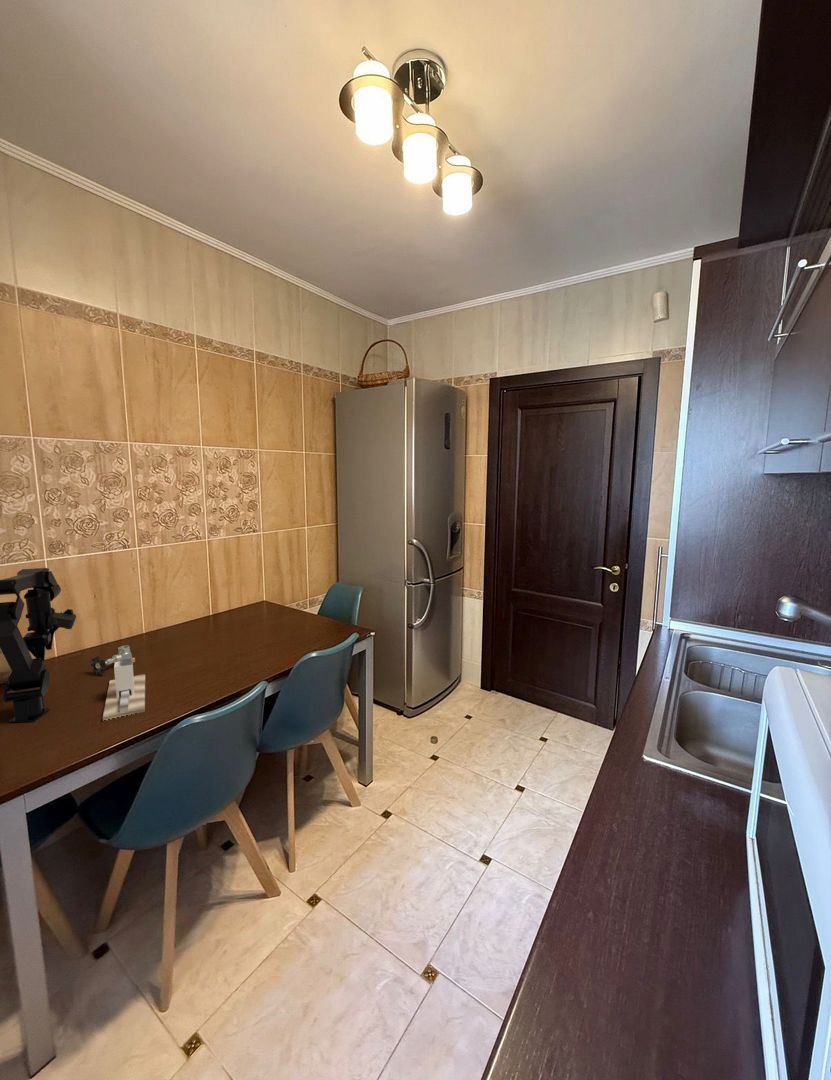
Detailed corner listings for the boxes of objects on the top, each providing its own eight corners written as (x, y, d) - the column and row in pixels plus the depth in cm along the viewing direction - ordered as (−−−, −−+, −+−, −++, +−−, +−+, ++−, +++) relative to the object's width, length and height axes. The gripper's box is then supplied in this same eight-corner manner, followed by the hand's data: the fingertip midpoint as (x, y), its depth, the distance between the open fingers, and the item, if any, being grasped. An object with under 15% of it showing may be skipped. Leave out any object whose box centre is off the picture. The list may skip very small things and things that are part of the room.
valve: (124, 660, 163) (90, 673, 152) (123, 643, 162) (89, 655, 151) (137, 663, 161) (103, 677, 150) (135, 646, 160) (102, 658, 149)
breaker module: (137, 694, 137) (134, 657, 135) (116, 698, 134) (113, 661, 132) (137, 688, 140) (134, 652, 139) (117, 692, 138) (114, 656, 136)
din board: (144, 711, 129) (144, 702, 128) (103, 721, 124) (102, 711, 123) (145, 676, 151) (144, 668, 150) (110, 683, 146) (109, 675, 145)
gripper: (66, 614, 130) (72, 663, 133) (77, 596, 146) (82, 639, 149) (16, 620, 125) (24, 670, 128) (34, 600, 141) (40, 645, 144)
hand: (45, 655), depth 138 cm, fingers open, 9 cm apart
